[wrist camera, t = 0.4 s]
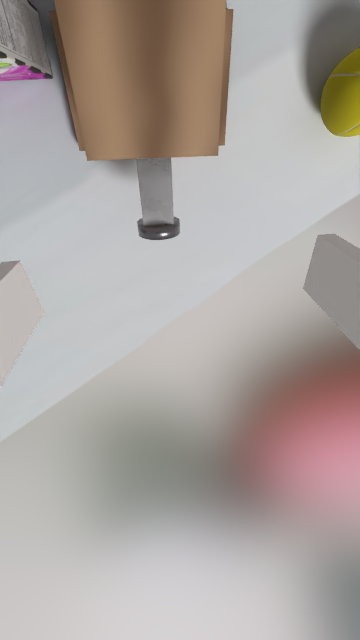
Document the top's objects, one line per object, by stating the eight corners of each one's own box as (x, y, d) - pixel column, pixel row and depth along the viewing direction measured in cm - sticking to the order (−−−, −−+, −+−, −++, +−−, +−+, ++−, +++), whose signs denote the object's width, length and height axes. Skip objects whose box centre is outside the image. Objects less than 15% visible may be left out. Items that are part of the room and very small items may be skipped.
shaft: (139, 227, 29) (137, 241, 26) (99, -110, 16) (84, -173, 13) (178, 225, 29) (181, 238, 26) (167, -109, 17) (172, -170, 13)
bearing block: (82, 149, 29) (46, 162, 19) (54, 17, 23) (-20, -65, 13) (221, 144, 30) (255, 153, 20) (229, 15, 24) (283, -63, 14)
